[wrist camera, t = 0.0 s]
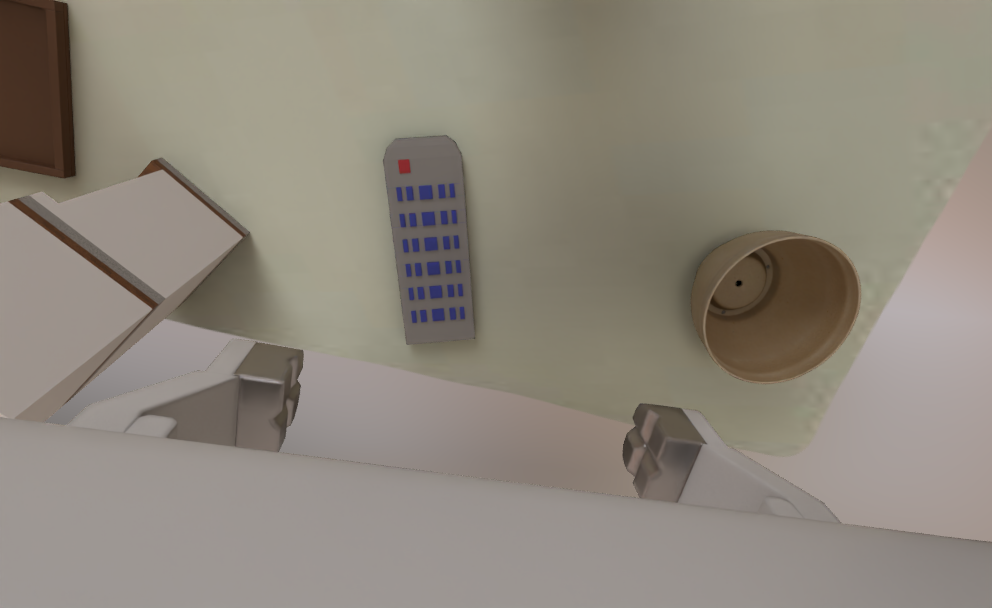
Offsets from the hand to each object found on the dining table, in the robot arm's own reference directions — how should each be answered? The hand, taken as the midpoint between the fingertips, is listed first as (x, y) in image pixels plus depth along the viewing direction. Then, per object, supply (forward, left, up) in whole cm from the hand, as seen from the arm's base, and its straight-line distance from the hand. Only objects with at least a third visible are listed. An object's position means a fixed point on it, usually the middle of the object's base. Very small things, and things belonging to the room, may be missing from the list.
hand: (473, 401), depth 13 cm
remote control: (+10, 0, -48) cm, 49 cm away
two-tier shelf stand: (+14, -27, -48) cm, 57 cm away
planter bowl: (+7, +35, -48) cm, 60 cm away
